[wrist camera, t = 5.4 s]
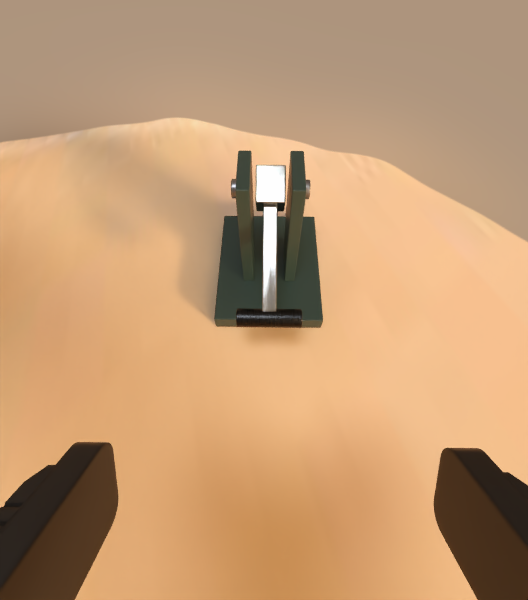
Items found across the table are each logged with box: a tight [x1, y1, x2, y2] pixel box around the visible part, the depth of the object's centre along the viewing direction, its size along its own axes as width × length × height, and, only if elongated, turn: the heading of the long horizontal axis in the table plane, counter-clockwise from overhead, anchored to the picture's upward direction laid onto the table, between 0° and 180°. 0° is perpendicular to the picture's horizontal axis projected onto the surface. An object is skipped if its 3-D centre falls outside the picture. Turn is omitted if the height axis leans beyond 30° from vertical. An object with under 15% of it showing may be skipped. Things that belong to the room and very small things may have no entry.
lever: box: [236, 165, 302, 328], centre depth 26 cm, size 12×5×2 cm, turn 179°
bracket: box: [214, 151, 323, 327], centre depth 30 cm, size 13×10×13 cm
